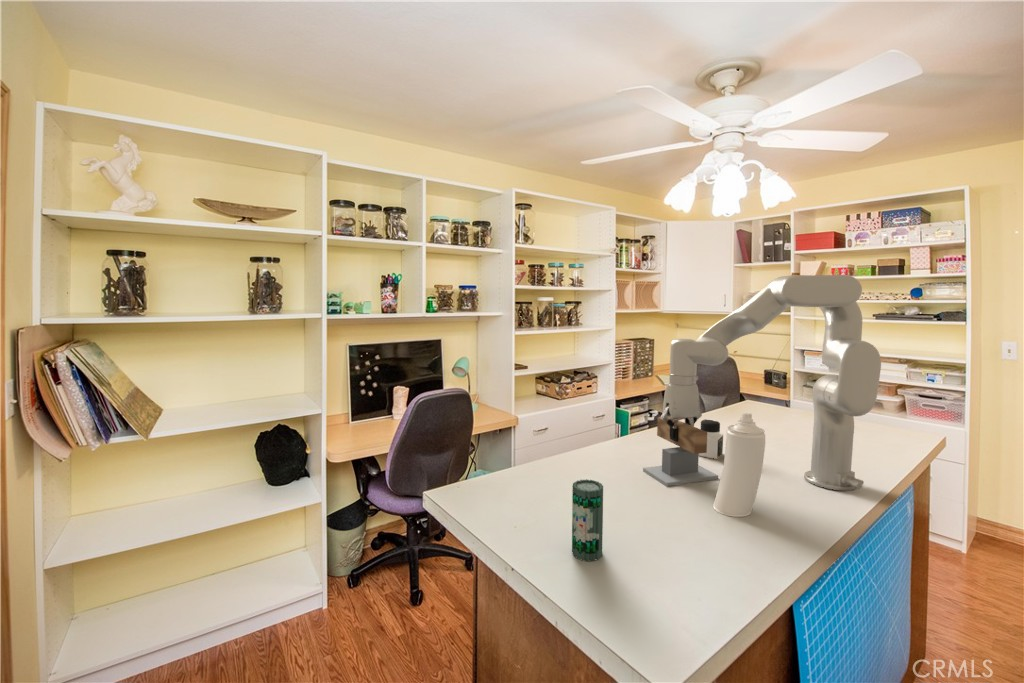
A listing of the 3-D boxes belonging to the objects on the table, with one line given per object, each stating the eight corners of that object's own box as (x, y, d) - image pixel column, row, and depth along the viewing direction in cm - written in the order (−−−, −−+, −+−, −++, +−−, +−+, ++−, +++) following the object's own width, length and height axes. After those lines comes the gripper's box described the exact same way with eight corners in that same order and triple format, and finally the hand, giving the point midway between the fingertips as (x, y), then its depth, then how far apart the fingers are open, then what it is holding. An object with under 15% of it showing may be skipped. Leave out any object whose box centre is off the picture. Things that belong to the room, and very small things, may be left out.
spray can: (721, 494, 124) (725, 405, 122) (764, 506, 118) (769, 411, 115) (708, 510, 115) (712, 414, 113) (755, 523, 109) (760, 421, 106)
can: (567, 554, 96) (567, 486, 95) (581, 542, 101) (582, 477, 99) (593, 564, 92) (594, 494, 91) (606, 551, 97) (607, 484, 96)
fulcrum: (718, 478, 135) (719, 452, 135) (666, 486, 130) (667, 459, 129) (691, 464, 147) (692, 440, 146) (643, 471, 142) (643, 446, 141)
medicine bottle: (717, 459, 151) (719, 424, 150) (695, 455, 155) (696, 421, 154) (722, 453, 157) (724, 419, 155) (701, 449, 161) (702, 416, 160)
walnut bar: (706, 452, 130) (707, 432, 129) (694, 453, 128) (695, 433, 128) (667, 434, 147) (668, 416, 146) (657, 435, 146) (657, 417, 145)
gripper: (697, 376, 142) (695, 433, 143) (651, 379, 137) (649, 438, 139) (714, 380, 134) (712, 440, 136) (666, 384, 130) (664, 446, 131)
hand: (680, 438), depth 137 cm, fingers closed on walnut bar, 4 cm apart
